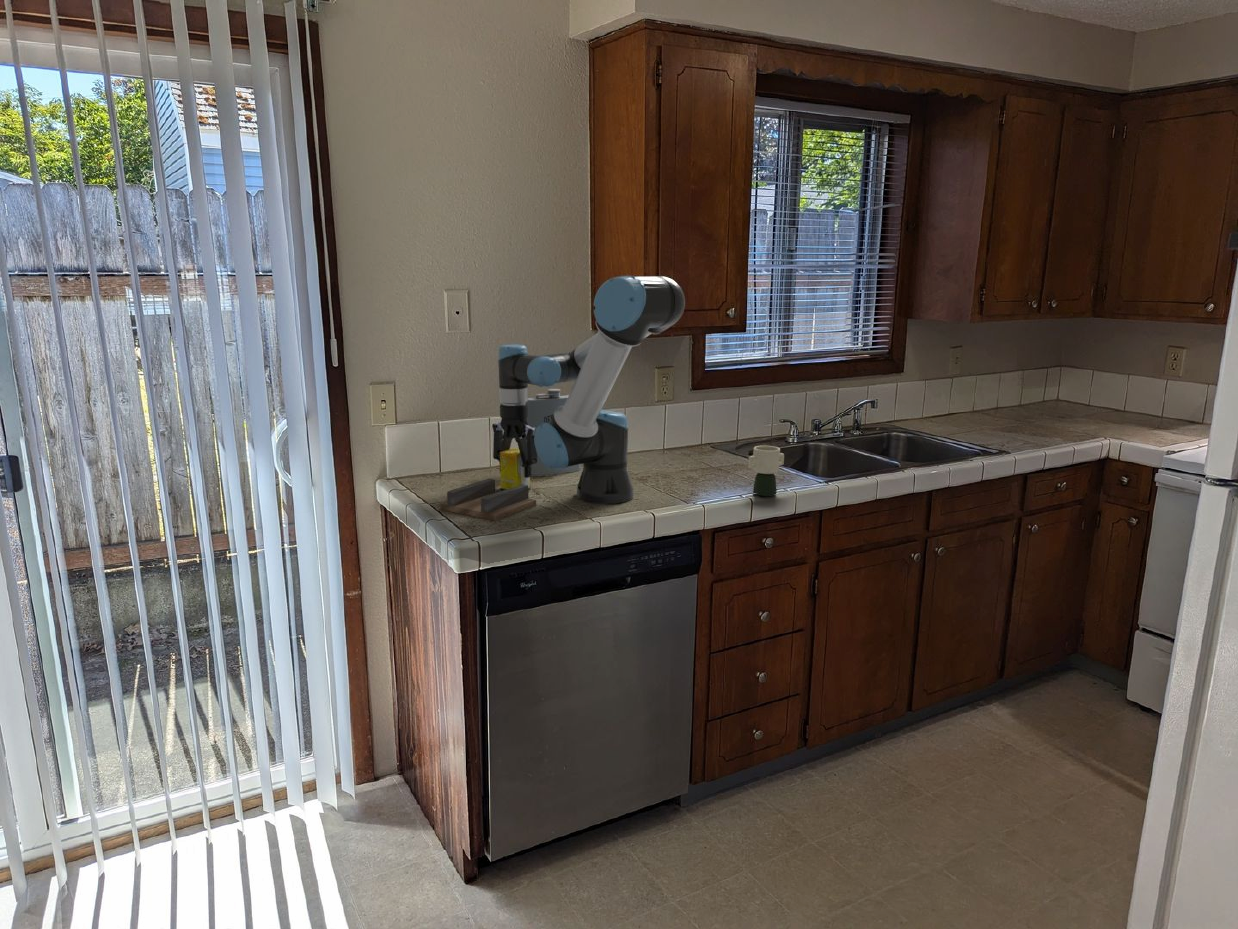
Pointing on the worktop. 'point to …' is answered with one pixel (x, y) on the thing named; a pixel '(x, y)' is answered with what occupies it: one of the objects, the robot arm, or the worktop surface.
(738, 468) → the worktop surface
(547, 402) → the flask
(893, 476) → the worktop surface
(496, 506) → the slot rack
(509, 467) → the supplement box
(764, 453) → the character mug
